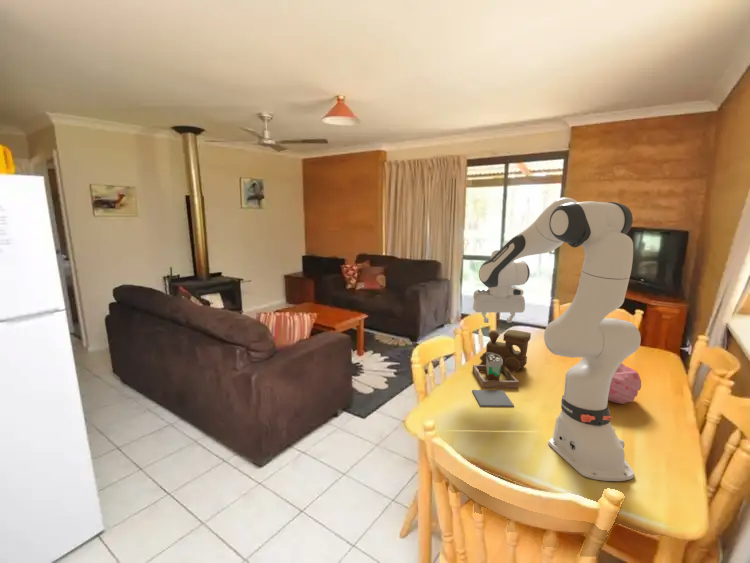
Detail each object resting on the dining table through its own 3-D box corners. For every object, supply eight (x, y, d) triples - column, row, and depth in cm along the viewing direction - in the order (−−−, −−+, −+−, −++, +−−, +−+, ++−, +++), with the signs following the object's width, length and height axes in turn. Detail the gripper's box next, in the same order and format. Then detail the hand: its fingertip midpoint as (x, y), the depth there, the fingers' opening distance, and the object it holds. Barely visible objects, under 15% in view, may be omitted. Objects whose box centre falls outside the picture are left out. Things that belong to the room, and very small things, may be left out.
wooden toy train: (529, 366, 167) (531, 331, 164) (523, 375, 157) (526, 338, 155) (485, 357, 178) (487, 325, 175) (478, 365, 168) (480, 331, 166)
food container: (504, 386, 146) (505, 363, 145) (488, 385, 147) (489, 362, 146) (499, 374, 158) (501, 352, 157) (485, 373, 159) (486, 351, 158)
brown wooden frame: (518, 388, 144) (518, 381, 144) (483, 388, 145) (483, 381, 144) (504, 371, 161) (504, 365, 161) (472, 371, 161) (472, 365, 161)
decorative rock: (597, 386, 146) (601, 351, 144) (641, 397, 137) (645, 360, 134) (587, 404, 132) (591, 365, 130) (635, 417, 123) (640, 376, 120)
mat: (513, 406, 130) (514, 405, 130) (480, 406, 130) (480, 405, 130) (502, 391, 142) (502, 390, 142) (472, 391, 142) (472, 389, 142)
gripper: (475, 291, 144) (474, 324, 146) (527, 291, 143) (525, 324, 146) (471, 288, 150) (470, 320, 152) (521, 288, 149) (519, 320, 152)
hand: (497, 322), depth 149 cm, fingers open, 8 cm apart
